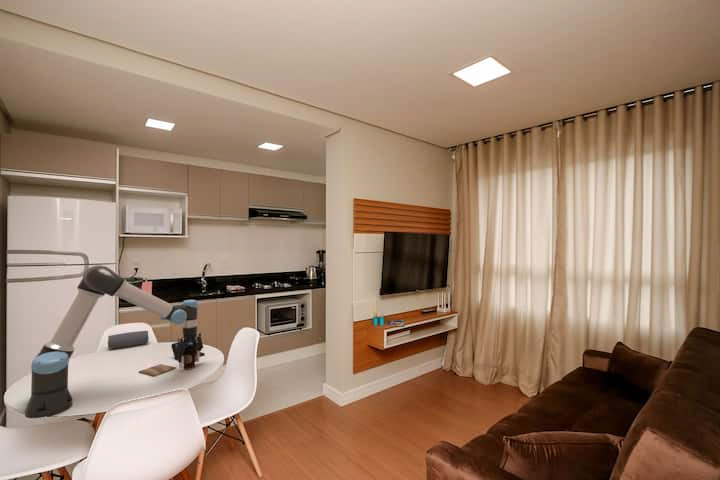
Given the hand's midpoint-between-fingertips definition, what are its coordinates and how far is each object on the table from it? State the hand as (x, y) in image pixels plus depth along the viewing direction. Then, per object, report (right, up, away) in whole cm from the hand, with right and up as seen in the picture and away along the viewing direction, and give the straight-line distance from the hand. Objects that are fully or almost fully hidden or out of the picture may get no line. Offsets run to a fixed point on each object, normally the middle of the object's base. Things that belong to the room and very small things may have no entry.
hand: (189, 364), depth 194 cm
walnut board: (-15, -2, -5) cm, 16 cm away
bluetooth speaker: (-62, -2, +38) cm, 73 cm away
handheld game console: (-10, -2, +19) cm, 22 cm away
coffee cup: (0, -2, 0) cm, 2 cm away
